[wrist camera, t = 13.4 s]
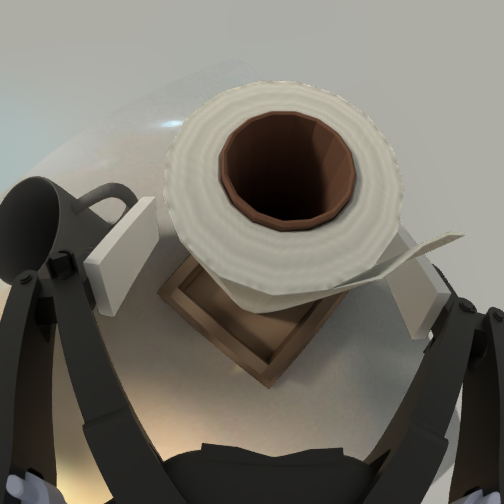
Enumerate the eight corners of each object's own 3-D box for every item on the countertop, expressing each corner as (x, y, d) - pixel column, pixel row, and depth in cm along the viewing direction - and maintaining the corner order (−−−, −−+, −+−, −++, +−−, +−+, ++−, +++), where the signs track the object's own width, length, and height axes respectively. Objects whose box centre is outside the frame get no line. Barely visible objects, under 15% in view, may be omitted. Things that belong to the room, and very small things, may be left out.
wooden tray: (159, 293, 28) (146, 289, 24) (251, 191, 30) (251, 174, 26) (268, 386, 26) (271, 397, 22) (356, 276, 28) (371, 270, 24)
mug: (72, 313, 27) (-3, 305, 15) (52, 242, 29) (-15, 209, 17) (174, 259, 29) (128, 222, 17) (145, 187, 30) (99, 125, 19)
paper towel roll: (214, 274, 27) (118, 145, 6) (265, 237, 28) (300, 51, 7) (260, 337, 26) (298, 401, 5) (311, 297, 27) (470, 231, 6)
